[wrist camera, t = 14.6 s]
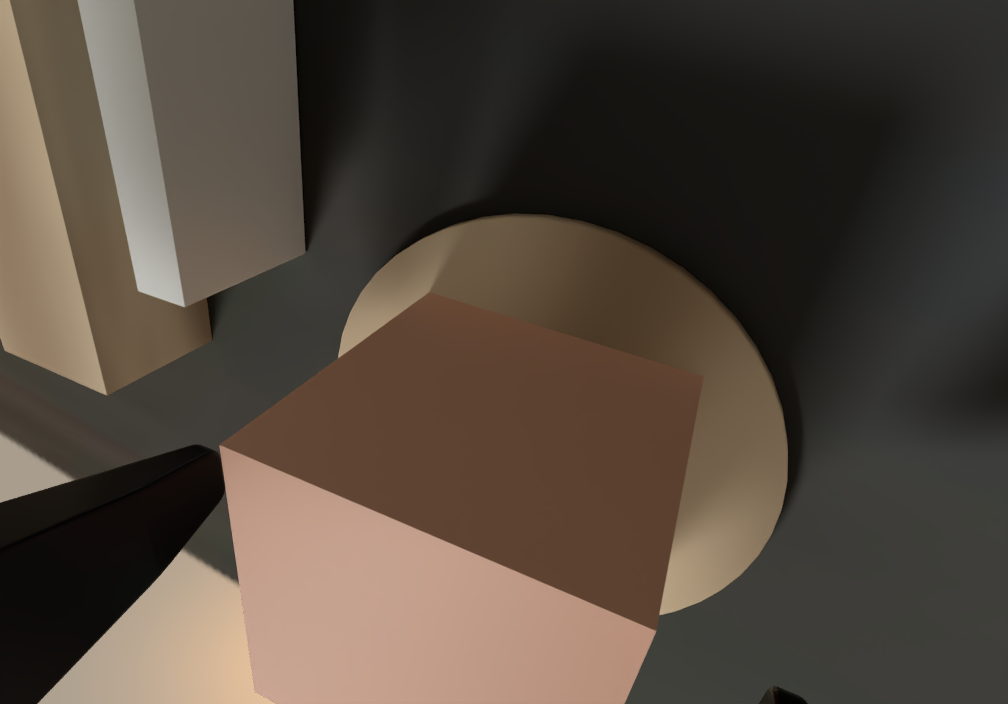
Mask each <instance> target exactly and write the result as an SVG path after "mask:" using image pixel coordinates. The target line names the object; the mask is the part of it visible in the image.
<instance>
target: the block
mask: <svg viewBox="0 0 1008 704" xmlns="http://www.w3.org/2000/svg"><path fill="white" fill-rule="evenodd" d="M703 377H704V376H701V375H697V374H694V373H691V372H688V371H684V370H681V369H678V368H675V367H671V366H668V365H665V364H662V363H658V362H655V361H652V360H649V359H645V358H642V357H639V356H635V355H632V354H629V353H626V352H622V351H619V350H616V349H613V348H609V347H606V346H603V345H600V344H596V343H593V342H590V341H587V340H583V339H580V338H577V337H574V336H570V335H567V334H564V333H560V332H557V331H554V330H551V329H547V328H544V327H541V326H538V325H534V324H531V323H528V322H525V321H521V320H518V319H515V318H512V317H508V316H505V315H502V314H498V313H495V312H492V311H489V310H485V309H482V308H479V307H476V306H472V305H469V304H466V303H463V302H459V301H456V300H453V299H450V298H446V297H443V296H440V295H437V294H433V293H430V292H429V293H427V294H426V295H425V296H423V297H422V298H420V299H419V300H418V301H416V302H415V303H414V304H412V305H411V306H409V307H408V308H407V309H405V310H404V311H403V312H401V313H400V314H398V315H397V316H396V317H394V318H393V319H392V320H390V321H389V322H387V323H386V324H385V325H383V326H382V327H381V328H379V329H378V330H376V331H375V332H374V333H372V334H371V335H370V336H368V337H367V338H366V339H364V340H363V341H361V342H360V343H359V344H357V345H356V346H355V347H353V348H352V349H350V350H349V351H348V352H346V353H345V354H344V355H342V356H341V357H339V358H338V359H337V360H335V361H334V362H333V363H331V364H330V365H328V366H327V367H326V368H324V369H323V370H322V371H320V372H319V373H318V374H316V375H315V376H313V377H312V378H311V379H309V380H308V381H307V382H305V383H304V384H302V385H301V386H300V387H298V388H297V389H296V390H294V391H293V392H291V393H290V394H289V395H287V396H286V397H285V398H283V399H282V400H280V401H279V402H278V403H276V404H275V405H274V406H272V407H271V408H269V409H268V410H267V411H265V412H264V413H263V414H261V415H260V416H259V417H257V418H256V419H254V420H253V421H252V422H250V423H249V424H248V425H246V426H245V427H243V428H242V429H241V430H239V431H238V432H237V433H235V434H234V435H232V436H231V437H230V438H228V439H227V440H226V441H224V442H223V443H221V444H220V452H221V459H222V466H223V473H224V480H225V487H226V494H227V501H228V508H229V515H230V522H231V529H232V536H233V543H234V550H235V557H236V564H237V571H238V578H239V585H240V592H241V599H242V606H243V613H244V619H245V627H246V634H247V641H248V647H249V655H250V662H251V669H252V676H253V683H254V690H255V692H256V693H258V694H260V695H261V696H263V697H265V698H267V699H269V700H270V701H272V702H274V703H276V704H624V703H625V701H626V699H627V697H628V694H629V692H630V690H631V688H632V685H633V683H634V681H635V678H636V676H637V674H638V672H639V669H640V667H641V665H642V662H643V660H644V658H645V656H646V653H647V651H648V649H649V647H650V644H651V642H652V640H653V637H654V635H655V633H656V630H657V624H658V619H659V614H660V608H661V603H662V597H663V592H664V587H665V581H666V576H667V571H668V565H669V560H670V554H671V549H672V544H673V538H674V533H675V528H676V522H677V517H678V511H679V506H680V501H681V495H682V490H683V484H684V479H685V474H686V468H687V463H688V458H689V452H690V447H691V441H692V436H693V431H694V425H695V420H696V415H697V409H698V404H699V398H700V393H701V388H702V382H703Z"/></svg>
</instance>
